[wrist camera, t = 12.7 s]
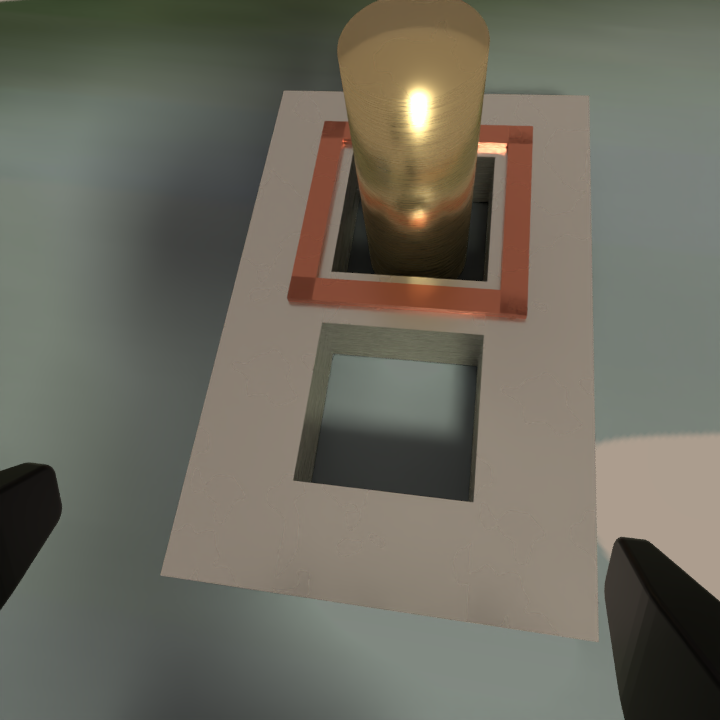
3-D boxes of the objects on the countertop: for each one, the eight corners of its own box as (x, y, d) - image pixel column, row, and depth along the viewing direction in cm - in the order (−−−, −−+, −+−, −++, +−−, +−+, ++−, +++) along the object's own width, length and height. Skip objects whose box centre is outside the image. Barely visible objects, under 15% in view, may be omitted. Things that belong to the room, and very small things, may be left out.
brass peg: (485, 247, 27) (520, 26, 17) (425, 314, 26) (424, 122, 16) (411, 201, 28) (401, -27, 18) (351, 263, 27) (306, 57, 17)
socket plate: (574, 637, 20) (601, 642, 17) (193, 579, 22) (156, 574, 19) (573, 145, 28) (590, 90, 25) (296, 137, 30) (282, 85, 27)
